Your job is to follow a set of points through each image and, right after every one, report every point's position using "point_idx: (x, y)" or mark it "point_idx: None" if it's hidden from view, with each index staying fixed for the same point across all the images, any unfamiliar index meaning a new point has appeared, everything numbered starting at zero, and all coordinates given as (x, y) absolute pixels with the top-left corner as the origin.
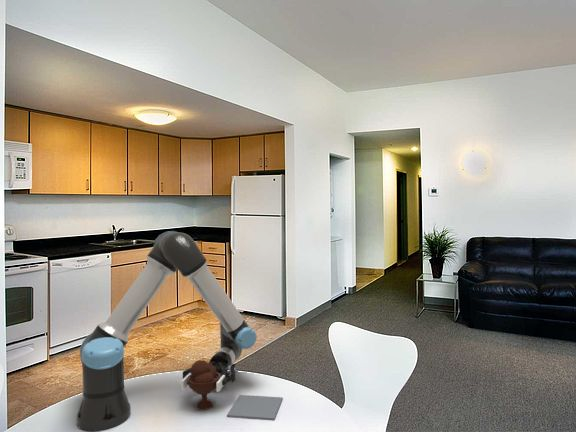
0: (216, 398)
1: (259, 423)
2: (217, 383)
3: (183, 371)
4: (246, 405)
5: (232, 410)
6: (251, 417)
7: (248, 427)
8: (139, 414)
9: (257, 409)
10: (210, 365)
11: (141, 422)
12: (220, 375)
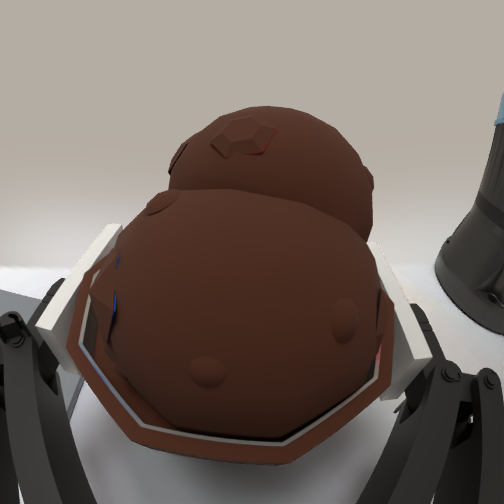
0: (183, 497)
1: (27, 282)
2: (115, 226)
3: (494, 375)
4: None
5: None
6: (35, 300)
7: (59, 268)
8: (442, 315)
9: None
10: (156, 196)
11: (400, 283)
12: (74, 314)
